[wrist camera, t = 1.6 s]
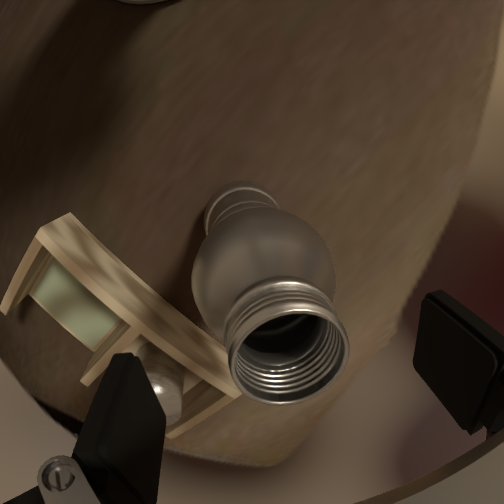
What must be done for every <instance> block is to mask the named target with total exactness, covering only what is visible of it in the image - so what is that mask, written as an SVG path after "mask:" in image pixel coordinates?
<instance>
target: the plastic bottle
mask: <svg viewBox="0 0 504 504" xmlns="http://www.w3.org/2000/svg"><path fill="white" fill-rule="evenodd" d="M204 229H205V233H206V238H205V239H204V240H203V242H202V244H201V246H200V248H199V251H198V253H197V256H196V258H195V260H194V264H193V270H192V275H191V278H192V292H193V296H194V300H195V303H196V305H197V307H198V309H199V312H200V314H201V316H202V318H203V320H204V322H205V323H206V324H207V326H208V327H209V328H210V330H211V331H212V332H213V333H214V334H215V335H216V336H218V337H219V338H220V339H221V340H222V341H224V345H225V349H226V352H227V354H228V366H229V370H230V374H231V376H232V379H233V381H234V383H235V385H236V386H237V388H238V389H239V390H240V391H241V392H242V393H243V394H245V395H246V396H247V397H249V398H250V399H252V400H255V401H257V402H259V403H263V404H267V405H275V406H285V405H293V404H298V403H302V402H305V401H307V400H310V399H312V398H314V397H316V396H318V395H320V394H321V393H323V392H324V391H326V390H327V389H328V388H329V387H330V386H332V385H333V384H334V383H335V382H336V381H337V379H338V378H339V377H340V375H341V374H342V372H343V370H344V368H345V366H346V364H347V361H348V357H349V341H348V337H347V333H346V331H345V329H344V327H343V325H342V323H341V322H340V320H339V318H338V317H337V313H336V310H335V308H334V306H333V301H334V296H335V291H336V274H335V269H334V264H333V260H332V256H331V252H330V250H329V248H328V246H327V244H326V242H325V240H324V239H323V238H322V236H321V235H320V234H319V233H318V231H317V230H316V229H315V228H314V227H312V226H311V225H310V224H309V223H308V222H306V221H305V220H303V219H301V218H299V217H298V216H296V215H294V214H292V213H290V212H288V211H284V210H282V209H281V206H280V204H279V202H278V200H277V199H276V197H275V196H274V195H273V194H272V193H271V192H270V191H269V190H268V189H267V188H265V187H264V186H262V185H260V184H258V183H254V182H250V181H238V182H233V183H230V184H227V185H225V186H223V187H222V188H220V189H219V190H218V191H217V192H216V193H215V194H214V195H213V196H212V197H211V199H210V200H209V202H208V204H207V207H206V209H205V214H204Z"/></svg>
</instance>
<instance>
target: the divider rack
mask: <svg viewBox="0 0 504 504" xmlns="http://www.w3.org/2000/svg"><path fill="white" fill-rule="evenodd" d="M28 294H29V295H30V296H31V297H32V298H33V299H34V300H35V301H36V302H37V303H38V304H39V305H40V306H41V307H42V308H43V309H44V310H45V311H46V312H48V313H49V314H50V315H51V316H52V317H53V318H54V319H55V320H56V321H57V322H58V323H60V324H61V325H62V326H63V327H64V328H65V329H66V330H67V331H69V332H70V333H71V334H72V335H73V336H74V337H76V338H77V339H78V340H79V341H80V342H82V343H83V344H84V345H85V346H87V347H88V348H89V349H90V350H91V351H93V352H94V354H93V356H92V358H91V360H90V362H89V364H88V366H87V368H86V370H85V372H84V374H83V376H82V378H81V380H80V382H82V383H83V384H84V385H86V386H87V387H88V386H89V385H90V384H91V383H92V382H93V381H94V380H95V379H96V378H97V377H98V376H99V375H100V374H101V373H102V372H103V371H104V370H105V369H106V368H107V367H108V365H109V363H110V361H111V358H112V356H113V355H114V354H115V353H126V352H131V353H133V355H134V356H135V355H136V352H137V350H138V348H139V347H140V346H142V345H143V344H145V343H148V342H152V343H153V344H155V345H156V346H157V347H159V348H160V349H161V350H163V351H164V352H165V353H167V354H168V355H170V356H171V357H172V358H174V359H175V360H176V361H178V362H179V363H181V364H182V365H184V366H185V377H184V388H183V399H182V411H181V417H180V418H179V420H178V421H177V422H175V423H174V424H171V425H168V426H166V431H165V436H167V437H169V438H171V439H173V438H175V437H177V436H178V435H180V434H182V433H183V432H185V431H187V430H188V429H190V428H192V427H193V426H195V425H196V424H198V423H199V422H201V421H203V420H204V419H206V418H207V417H209V416H210V415H212V414H213V413H215V412H216V411H218V410H219V409H221V408H222V407H224V406H225V405H227V404H228V403H230V402H231V401H233V400H234V399H236V398H237V397H238V396H240V395H241V394H242V392H241V391H240V390H239V389H238V388H237V386H236V385H235V383H234V381H233V379H232V376H231V374H230V370H229V366H228V354H227V352H226V349H225V347H224V346H222V345H221V344H220V343H218V342H217V341H216V340H214V339H213V338H212V337H210V336H209V335H208V334H207V333H205V332H204V331H203V330H201V329H200V328H199V327H198V326H196V325H195V324H194V323H193V322H191V321H190V320H189V319H188V318H186V317H185V316H184V315H183V314H181V313H180V312H179V311H178V310H176V309H175V308H174V307H173V306H172V305H170V304H169V303H168V302H167V301H166V300H164V299H163V298H162V297H161V296H160V295H159V294H157V293H156V292H155V291H154V290H153V289H152V288H150V287H149V286H148V285H147V284H146V283H145V282H143V281H142V280H141V279H140V278H139V277H138V276H137V275H136V274H134V273H133V272H132V271H131V270H130V269H129V268H128V267H127V266H126V265H124V264H123V263H122V262H121V261H120V260H119V259H118V258H117V257H116V256H115V255H114V254H112V253H111V252H110V251H109V250H108V249H107V248H106V247H105V246H104V245H103V244H102V243H101V242H100V241H99V240H98V239H97V238H96V237H95V236H94V235H93V234H92V233H91V232H89V231H88V230H87V229H86V228H85V227H84V226H83V225H82V224H81V223H80V222H79V221H78V220H77V219H76V218H75V217H74V216H73V214H72V213H71V212H70V213H68V214H66V215H64V216H62V217H60V218H58V219H56V220H54V221H52V222H50V223H48V224H46V225H44V226H42V227H40V229H39V230H38V232H37V234H36V236H35V237H34V239H33V241H32V243H31V244H30V246H29V248H28V250H27V252H26V253H25V255H24V257H23V259H22V261H21V263H20V265H19V267H18V269H17V271H16V273H15V275H14V277H13V279H12V281H11V283H10V285H9V287H8V290H7V292H6V294H5V296H4V298H3V301H2V303H1V305H0V310H1V311H2V312H3V313H4V314H5V315H7V314H8V313H9V312H10V311H11V310H12V309H13V308H14V307H15V306H16V305H17V304H18V303H19V302H20V301H21V300H22V299H23V298H24V297H26V296H27V295H28Z"/></svg>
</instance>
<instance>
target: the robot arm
mask: <svg viewBox="0 0 504 504" xmlns="http://www.w3.org/2000/svg"><path fill="white" fill-rule="evenodd" d="M118 1H121V2H125V3H130V4H150V3H157V2H162V1H167V0H118ZM413 366H414V368H415V370H416V371H417V373H418V374H419V375H420V376H421V377H422V379H423V380H424V381H425V382H426V383H427V385H428V386H429V387H430V389H431V390H432V391H433V392H434V394H435V395H436V396H437V397H438V399H439V400H440V401H441V403H442V404H443V405H444V407H445V408H446V409H447V410H448V412H449V413H450V414H451V415H452V417H453V418H454V419H455V421H456V422H457V423H458V425H459V426H460V427H461V428H462V429H463V430H467V431H468V433H469V434H470V435H472V434H474V433H475V432H477V431H478V430H480V429H482V427H483V425H484V426H485V427H486V429H487V430H486V440H485V441H484V442H482V443H481V444H479V445H478V446H476V447H475V448H473V449H472V450H470V451H468V452H467V453H465V454H463V455H462V456H460V457H458V458H457V459H455V460H453V461H451V462H449V463H447V464H446V465H444V466H442V467H440V468H438V469H436V470H434V471H432V472H430V473H428V474H426V475H424V476H422V477H420V478H418V479H416V480H413V481H411V482H409V483H407V484H405V485H402V486H400V487H397V488H395V489H393V490H390V491H388V492H385V493H383V494H380V495H377V496H375V497H372V498H369V499H366V500H363V501H360V502H357V503H354V504H504V336H503V335H502V334H500V333H499V332H498V331H497V330H495V329H494V328H493V327H492V326H490V325H489V324H488V323H486V322H485V321H484V320H483V319H481V318H480V317H478V316H477V315H476V314H475V313H473V312H472V311H471V310H469V309H468V308H467V307H465V306H464V305H462V304H461V303H460V302H458V301H457V300H456V299H454V298H453V297H451V296H450V295H449V294H447V293H446V292H444V291H443V290H437V291H434V292H431V293H428V294H426V296H425V299H423V301H422V303H421V311H420V319H419V326H418V333H417V339H416V346H415V352H414V357H413ZM166 422H167V421H166V415H165V412H164V410H163V408H162V406H161V404H160V402H159V400H158V398H157V396H156V394H155V392H154V389H153V387H152V385H151V383H150V381H149V378H148V376H147V374H146V372H145V369H144V367H143V365H142V362H141V360H140V358H139V357H138V356H134V355H133V353H131V352H126V353H115V354H114V355H113V356H112V358H111V361H110V363H109V365H108V367H107V369H106V372H105V374H104V376H103V378H102V381H101V383H100V385H99V388H98V390H97V392H96V395H95V397H94V399H93V402H92V404H91V407H90V409H89V411H88V414H87V416H86V419H85V421H84V424H83V426H82V429H81V432H80V434H79V437H78V439H77V442H76V445H75V448H74V450H73V454H72V457H68V456H64V455H63V456H55V457H52V458H50V459H49V460H47V461H45V462H44V464H43V465H42V466H41V467H40V469H39V471H38V475H37V481H38V486H36V487H34V488H32V489H30V490H29V491H27V492H25V493H23V494H21V495H19V496H17V497H15V498H13V499H11V500H9V501H7V502H5V503H3V504H156V502H157V495H158V486H159V485H158V484H159V477H160V468H161V460H162V452H163V445H164V437H165V430H166Z"/></svg>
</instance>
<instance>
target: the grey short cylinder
mask: <svg viewBox="0 0 504 504" xmlns="http://www.w3.org/2000/svg"><path fill="white" fill-rule="evenodd" d="M135 356H138V357H139V358H140V360H141V362H142V365H143V367H144V369H145V372H146V374H147V376H148V378H149V381H150V383H151V385H152V387H153V389H154V392H155V394H156V396H157V398H158V400H159V402H160V404H161V406H162V408H163V410H164V412H165V415H166V421H167V422H166V426H168V425H171V424H174V423H175V422H177V421H178V420H179V418H180V417H181V411H182V399H183V388H184V377H185V366H184V365H182V364H181V363H179V362H178V361H176V360H175V359H174V358H172V357H171V356H170V355H168V354H167V353H165V352H164V351H163V350H161V349H160V348H159V347H157V346H156V345H155V344H153V343H152V342H148V343H145V344H143V345H142V346H140V347H139V348H138V350H137V352H136V355H135Z"/></svg>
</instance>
